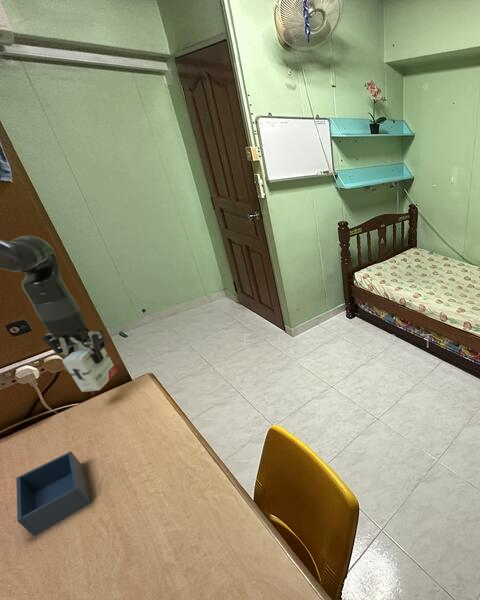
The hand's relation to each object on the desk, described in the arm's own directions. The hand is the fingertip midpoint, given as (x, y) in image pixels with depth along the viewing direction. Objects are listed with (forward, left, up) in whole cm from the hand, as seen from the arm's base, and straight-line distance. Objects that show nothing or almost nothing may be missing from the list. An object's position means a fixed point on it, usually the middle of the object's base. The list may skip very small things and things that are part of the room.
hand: (88, 362), depth 90 cm
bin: (+8, -30, -17) cm, 35 cm away
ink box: (0, 0, -8) cm, 8 cm away
